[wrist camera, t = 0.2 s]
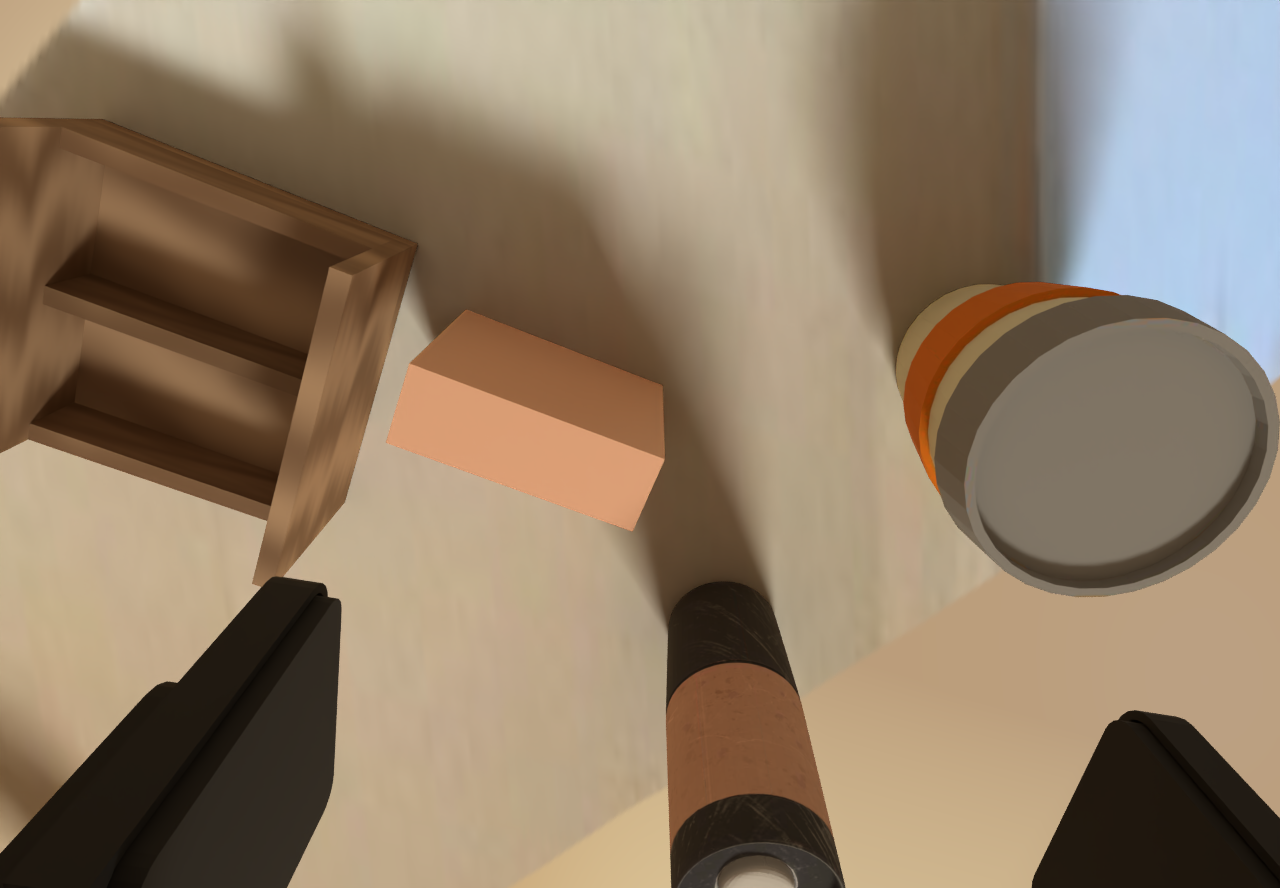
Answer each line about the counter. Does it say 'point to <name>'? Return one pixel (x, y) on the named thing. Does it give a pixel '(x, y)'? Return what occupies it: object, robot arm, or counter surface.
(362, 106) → the counter surface
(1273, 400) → the reusable coffee cup
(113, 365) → the wooden crate
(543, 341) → the peach rectangular block
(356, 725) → the counter surface
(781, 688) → the travel mug
